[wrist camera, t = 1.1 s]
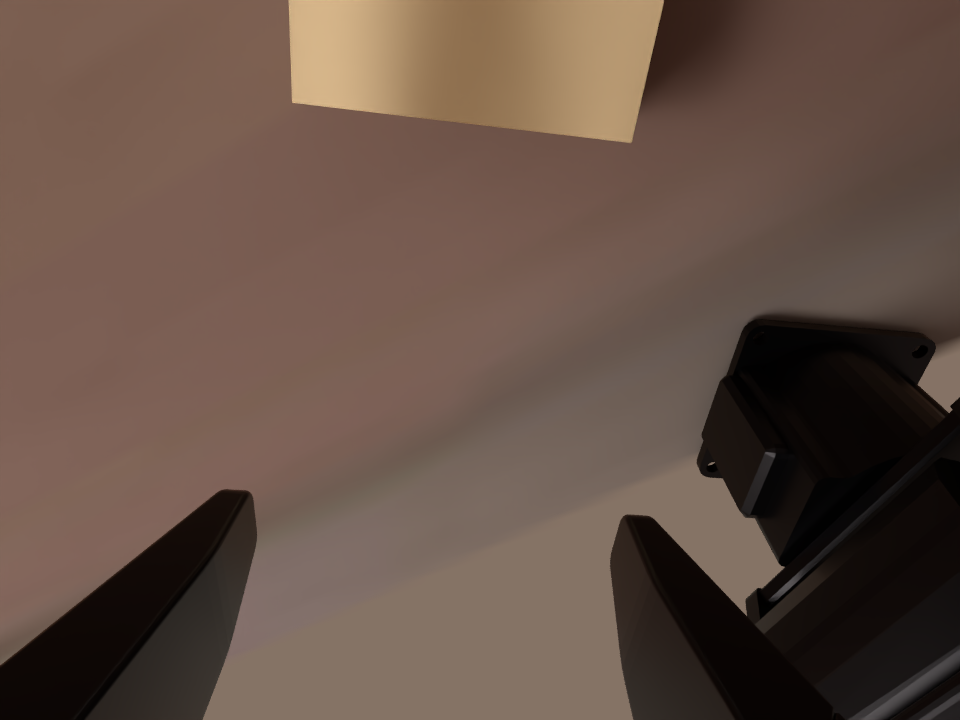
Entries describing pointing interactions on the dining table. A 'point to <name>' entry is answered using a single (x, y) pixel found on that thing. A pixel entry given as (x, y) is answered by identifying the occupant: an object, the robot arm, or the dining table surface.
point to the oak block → (479, 61)
